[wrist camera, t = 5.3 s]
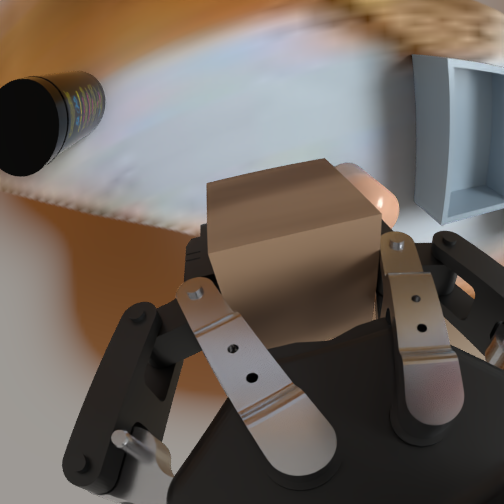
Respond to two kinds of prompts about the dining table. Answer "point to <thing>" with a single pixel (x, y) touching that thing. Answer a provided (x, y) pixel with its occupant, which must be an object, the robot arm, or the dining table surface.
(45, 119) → the supplement container
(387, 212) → the terracotta cylinder
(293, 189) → the walnut cube
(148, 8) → the dining table surface
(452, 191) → the tote
